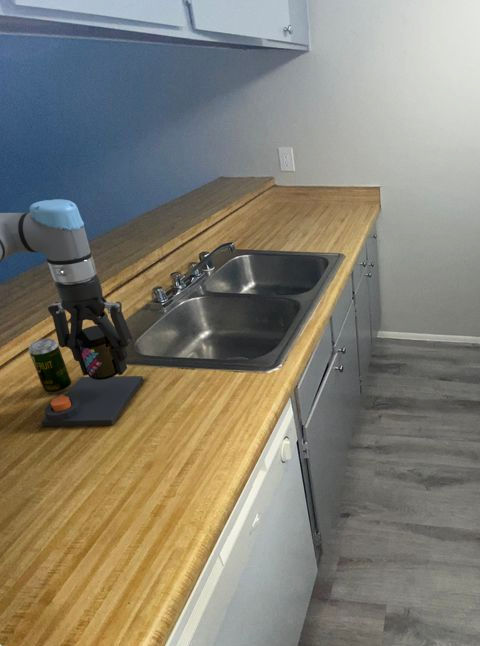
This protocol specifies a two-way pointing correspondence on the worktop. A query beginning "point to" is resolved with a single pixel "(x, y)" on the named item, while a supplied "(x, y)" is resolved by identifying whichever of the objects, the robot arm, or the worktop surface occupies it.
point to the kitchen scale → (94, 401)
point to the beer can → (50, 366)
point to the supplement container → (96, 353)
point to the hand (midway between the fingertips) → (105, 371)
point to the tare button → (61, 403)
